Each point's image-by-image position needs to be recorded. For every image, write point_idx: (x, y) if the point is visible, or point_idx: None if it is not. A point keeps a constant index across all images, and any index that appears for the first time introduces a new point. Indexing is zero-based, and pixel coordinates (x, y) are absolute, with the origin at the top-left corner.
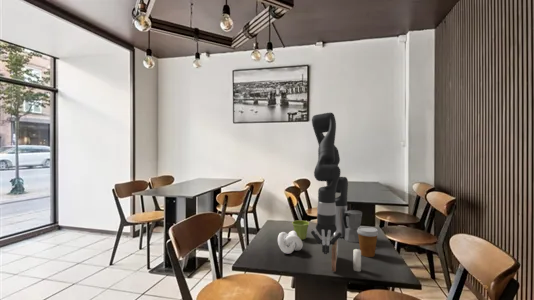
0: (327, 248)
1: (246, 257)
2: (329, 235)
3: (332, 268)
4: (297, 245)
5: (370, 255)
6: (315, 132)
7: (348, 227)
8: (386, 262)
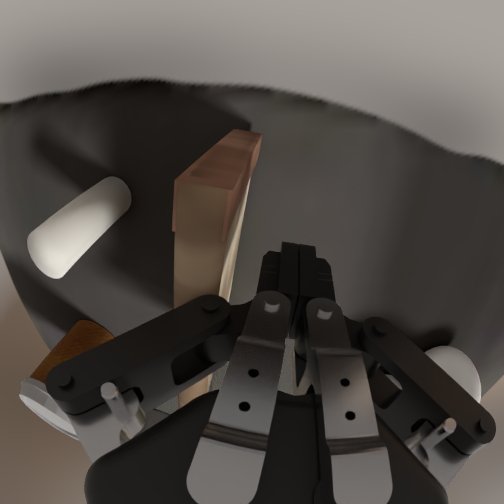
0: (277, 278)
1: None
2: (232, 403)
3: (254, 136)
4: (401, 387)
5: (81, 323)
6: None
7: None
8: (35, 275)
